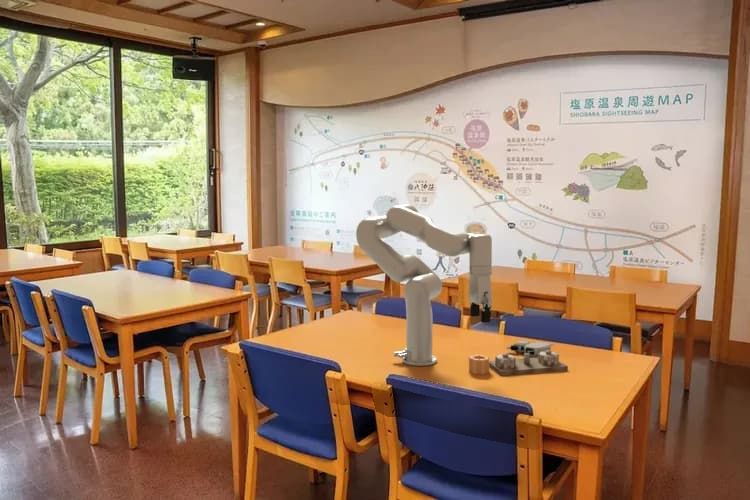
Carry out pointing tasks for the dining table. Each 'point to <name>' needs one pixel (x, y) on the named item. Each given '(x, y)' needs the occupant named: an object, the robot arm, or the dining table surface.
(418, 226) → the robot arm
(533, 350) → the robot toy
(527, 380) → the dining table surface
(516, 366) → the gear board
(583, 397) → the dining table surface
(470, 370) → the orange gear
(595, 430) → the dining table surface
